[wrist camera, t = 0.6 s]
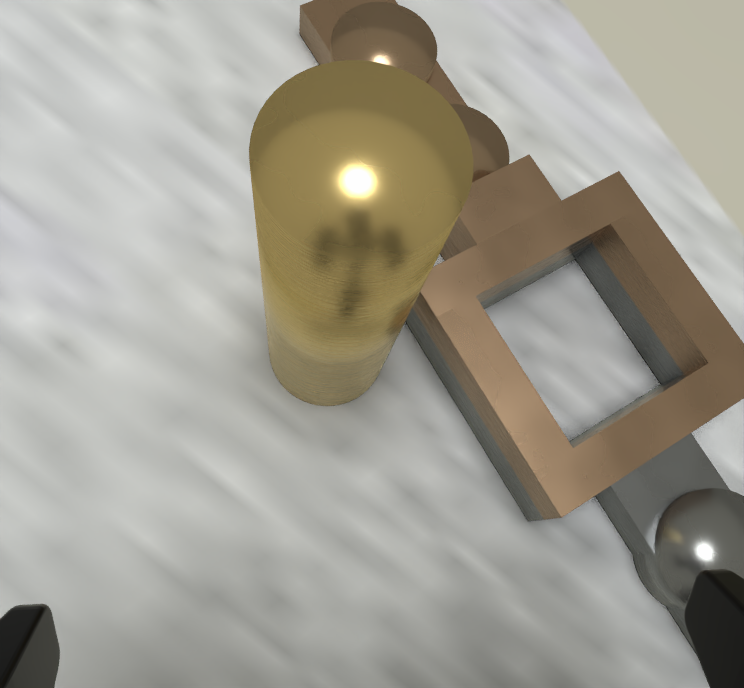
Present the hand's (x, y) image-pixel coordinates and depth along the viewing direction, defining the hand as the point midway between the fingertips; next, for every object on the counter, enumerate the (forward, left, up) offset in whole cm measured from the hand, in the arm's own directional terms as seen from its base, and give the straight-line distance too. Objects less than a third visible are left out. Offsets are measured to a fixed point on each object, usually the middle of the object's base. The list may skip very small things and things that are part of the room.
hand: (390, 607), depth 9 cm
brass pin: (+7, -3, -13) cm, 15 cm away
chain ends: (+2, -11, -13) cm, 17 cm away
